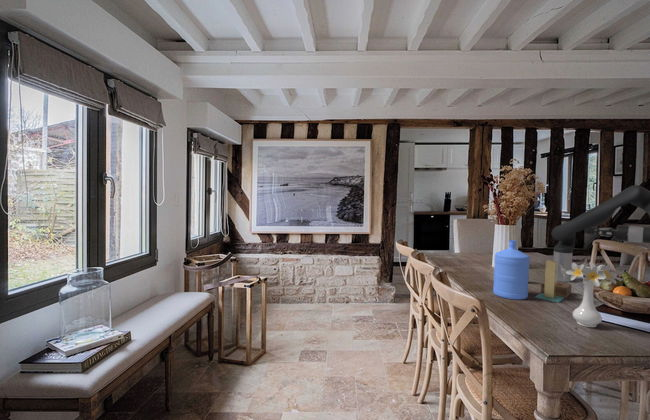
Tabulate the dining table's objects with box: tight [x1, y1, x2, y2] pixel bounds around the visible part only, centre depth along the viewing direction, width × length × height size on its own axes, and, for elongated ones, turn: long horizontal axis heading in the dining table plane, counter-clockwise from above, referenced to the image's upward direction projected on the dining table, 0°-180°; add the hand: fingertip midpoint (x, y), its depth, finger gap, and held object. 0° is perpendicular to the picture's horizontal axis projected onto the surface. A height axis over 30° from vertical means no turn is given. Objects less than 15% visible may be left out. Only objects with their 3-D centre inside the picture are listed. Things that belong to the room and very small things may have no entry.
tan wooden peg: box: [544, 259, 558, 299], centre depth 171 cm, size 4×4×18 cm
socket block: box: [540, 281, 572, 299], centre depth 179 cm, size 11×11×5 cm
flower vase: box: [560, 261, 618, 328], centre depth 136 cm, size 13×18×25 cm
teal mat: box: [535, 292, 565, 304], centre depth 171 cm, size 10×10×1 cm
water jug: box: [492, 239, 531, 301], centre depth 174 cm, size 16×16×28 cm
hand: (586, 230), depth 171 cm, fingers open, 8 cm apart
